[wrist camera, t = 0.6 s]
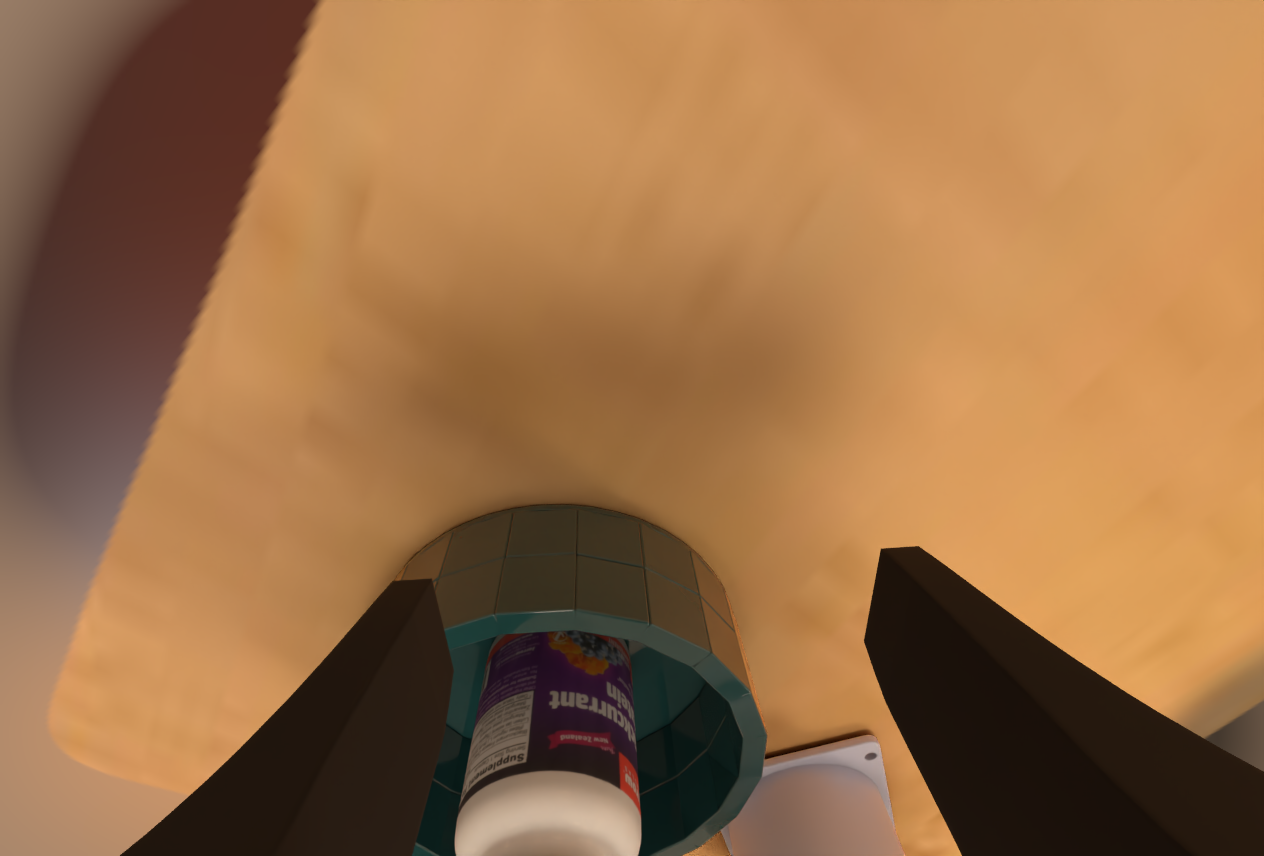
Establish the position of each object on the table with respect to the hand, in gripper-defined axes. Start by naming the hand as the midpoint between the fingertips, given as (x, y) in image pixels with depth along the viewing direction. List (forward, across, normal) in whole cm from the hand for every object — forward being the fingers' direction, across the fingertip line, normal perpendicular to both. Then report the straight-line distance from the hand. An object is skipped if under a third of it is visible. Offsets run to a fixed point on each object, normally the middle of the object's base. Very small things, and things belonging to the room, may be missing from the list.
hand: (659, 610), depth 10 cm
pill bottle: (+10, +3, +12) cm, 16 cm away
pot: (+10, +3, +12) cm, 16 cm away
